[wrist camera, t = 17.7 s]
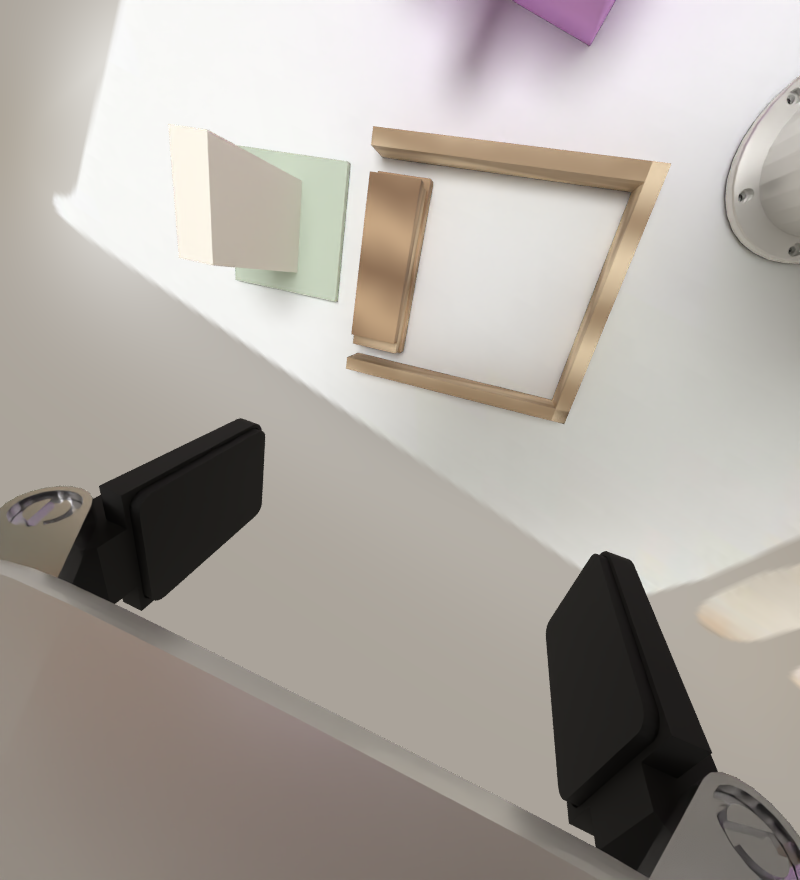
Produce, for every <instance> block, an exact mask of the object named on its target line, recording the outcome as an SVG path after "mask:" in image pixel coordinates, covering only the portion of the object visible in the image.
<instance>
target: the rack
mask: <svg viewBox="0 0 800 880" xmlns="http://www.w3.org/2000/svg"><path fill="white" fill-rule="evenodd" d="M371 145H372V146H373V147H374V149H375V150H376V151H377V152H378V153H379V154H380V155H381V156H382V157H385V158H392V159H399V160H406V161H413V162H420V163H427V164H435V165H442V166H449V167H456V168H463V169H470V170H477V171H484V172H492V173H499V174H506V175H513V176H520V177H527V178H534V179H541V180H549V181H556V182H563V183H570V184H577V185H584V186H591V187H598V188H606V189H613V190H620V191H627V192H631V195H630V198H629V200H628V203H627V205H626V208H625V211H624V213H623V216H622V219H621V221H620V224H619V226H618V229H617V232H616V234H615V237H614V239H613V242H612V245H611V247H610V250H609V252H608V255H607V258H606V260H605V263H604V266H603V268H602V271H601V273H600V276H599V279H598V281H597V284H596V286H595V289H594V292H593V294H592V297H591V299H590V302H589V305H588V307H587V310H586V313H585V315H584V318H583V320H582V323H581V326H580V328H579V331H578V333H577V336H576V339H575V341H574V344H573V346H572V349H571V352H570V354H569V357H568V360H567V362H566V365H565V367H564V370H563V373H562V375H561V378H560V380H559V383H558V386H557V388H556V391H555V393H554V396H553V399H552V400H550V399H546V398H542V397H538V396H533V395H529V394H525V393H521V392H517V391H513V390H509V389H505V388H501V387H497V386H492V385H488V384H484V383H480V382H476V381H472V380H468V379H464V378H460V377H456V376H451V375H447V374H443V373H439V372H435V371H431V370H427V369H423V368H419V367H415V366H410V365H406V364H402V363H398V362H394V361H390V360H386V359H382V358H378V357H374V356H369V355H365V354H361V353H356V354H354V355H352V356H349V357H347V365H346V369H350V370H354V371H357V372H361V373H365V374H369V375H373V376H377V377H381V378H385V379H389V380H393V381H397V382H401V383H405V384H409V385H413V386H417V387H421V388H424V389H428V390H432V391H436V392H440V393H444V394H448V395H452V396H456V397H460V398H464V399H468V400H472V401H476V402H480V403H484V404H488V405H491V406H495V407H499V408H503V409H507V410H511V411H515V412H519V413H523V414H527V415H531V416H535V417H539V418H543V419H547V420H551V421H555V422H558V423H562V424H564V423H565V421H566V418H567V416H568V414H569V411H570V409H571V406H572V404H573V401H574V399H575V396H576V394H577V392H578V389H579V387H580V384H581V382H582V379H583V377H584V375H585V372H586V370H587V367H588V365H589V362H590V360H591V358H592V355H593V353H594V350H595V348H596V345H597V343H598V341H599V338H600V336H601V333H602V331H603V328H604V326H605V324H606V321H607V319H608V316H609V314H610V311H611V309H612V307H613V304H614V302H615V299H616V297H617V294H618V292H619V290H620V287H621V285H622V282H623V280H624V277H625V275H626V273H627V270H628V268H629V265H630V263H631V260H632V258H633V256H634V253H635V251H636V248H637V246H638V243H639V241H640V239H641V236H642V234H643V231H644V229H645V226H646V224H647V222H648V219H649V217H650V214H651V212H652V209H653V207H654V205H655V202H656V200H657V197H658V195H659V192H660V190H661V187H662V185H663V183H664V180H665V178H666V175H667V173H668V170H669V168H670V166H671V163H663V162H655V161H647V160H639V159H631V158H623V157H615V156H607V155H599V154H591V153H583V152H575V151H567V150H559V149H551V148H543V147H535V146H527V145H519V144H511V143H503V142H495V141H487V140H479V139H471V138H463V137H455V136H447V135H439V134H431V133H423V132H415V131H407V130H399V129H391V128H383V127H375V126H373V133H372V142H371Z"/></svg>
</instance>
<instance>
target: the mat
mask: <svg viewBox="0 0 800 880" xmlns="http://www.w3.org/2000/svg"><path fill="white" fill-rule="evenodd" d="M237 146H238V145H237ZM238 147H240V148H242V149H244V150H246V151H248V152H250V153H251V154H253V155H255V156H257V157H259V158H261V159H262V160H264V161H266V162H268V163H270V164H272V165H274V166H275V167H277V168H279V169H281V170H283V171H285V172H287V173H288V174H290V175H292V176H294V177H296V178H298V179H300V180H301V181H302V193H301V213H300V233H299V252H298V272H297V273H295V272H283V271H272V270H260V269H249V268H237V267H235V274H236V280H239V281H243V282H248V283H252V284H257V285H261V286H266V287H271V288H275V289H280V290H284V291H289V292H293V293H298V294H302V295H307V296H312V297H316V298H321V299H325V300H330V301H334V302H338V291H339V281H340V270H341V259H342V249H343V238H344V227H345V216H346V206H347V195H348V184H349V174H350V163H349V162H348V161H341V160H334V159H327V158H320V157H313V156H307V155H300V154H293V153H286V152H279V151H272V150H265V149H258V148H251V147H245V146H238Z"/></svg>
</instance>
